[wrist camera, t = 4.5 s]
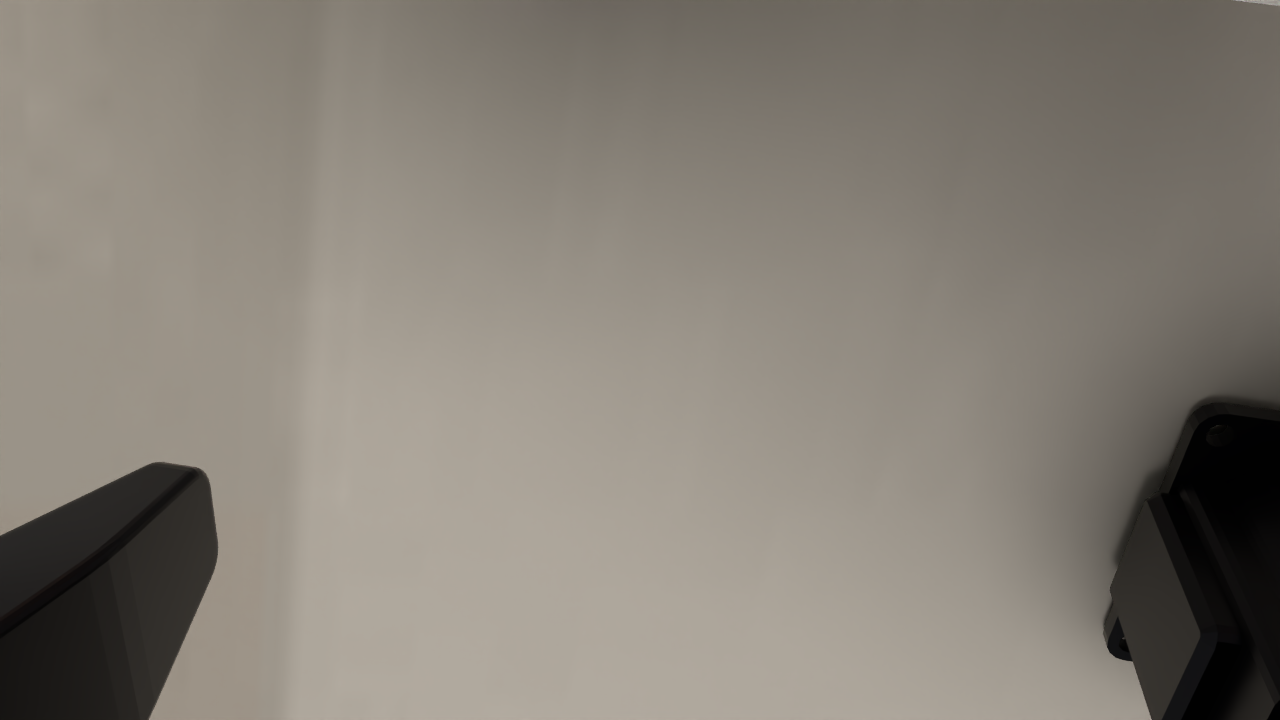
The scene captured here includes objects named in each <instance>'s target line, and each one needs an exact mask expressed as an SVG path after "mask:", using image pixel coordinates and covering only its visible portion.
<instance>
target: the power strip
mask: <svg viewBox="0 0 1280 720" xmlns="http://www.w3.org/2000/svg"><path fill="white" fill-rule="evenodd" d="M1235 1H1243V2H1252V3H1260V4H1268V5H1277V6H1280V0H1235Z"/></svg>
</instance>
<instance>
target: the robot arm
mask: <svg viewBox="0 0 1280 720" xmlns="http://www.w3.org/2000/svg"><path fill="white" fill-rule="evenodd" d="M1217 425H1227V426H1228V427H1227V428H1226V429H1225V430H1224V432H1222V433H1220V434H1217V435H1208V434H1207V433H1208V431H1209V430H1210V429H1211V428H1213V427H1215V426H1217ZM217 556H218V539H217V532H216V524H215V517H214V509H213V502H212V494H211V487H210V482H209V479H208V477H207V475H206V473H205V472H204V471H202V470H201V469H199V468H197V467H191V466H185V465H178V464H172V463H165V462H155V463H151V464H149V465H146V466H144V467H142V468H140V469H138V470H136V471H134V472H132V473H130V474H127V475H125V476H123V477H121V478H119V479H117V480H115V481H113V482H111V483H109V484H107V485H105V486H103V487H100V488H98V489H96V490H94V491H92V492H90V493H88V494H86V495H84V496H82V497H80V498H78V499H76V500H73V501H71V502H69V503H67V504H65V505H63V506H61V507H59V508H57V509H55V510H53V511H51V512H49V513H47V514H44V515H42V516H40V517H38V518H36V519H34V520H32V521H30V522H28V523H26V524H24V525H22V526H20V527H17V528H15V529H13V530H11V531H9V532H7V533H5V534H3V535H1V536H0V720H149V718H150V716H151V714H152V711H153V709H154V707H155V705H156V703H157V700H158V698H159V696H160V694H161V691H162V689H163V687H164V685H165V682H166V680H167V678H168V675H169V673H170V671H171V669H172V666H173V664H174V662H175V659H176V657H177V655H178V653H179V650H180V648H181V646H182V643H183V641H184V639H185V637H186V634H187V632H188V630H189V628H190V625H191V623H192V621H193V618H194V616H195V614H196V612H197V609H198V607H199V605H200V602H201V600H202V598H203V596H204V593H205V591H206V589H207V586H208V584H209V582H210V580H211V577H212V575H213V572H214V569H215V566H216V562H217ZM1110 593H1111V596H1112V599H1113V602H1114V604H1113V606H1112V609H1111V611H1110V613H1109V616H1108V618H1107V621H1106V623H1105V626H1104V631H1103V635H1104V638H1105V641H1106V645H1107V648H1108V650H1109V652H1110V653H1111V654H1112V655H1113V656H1115V657H1116V658H1119V659H1122V660H1126V661H1132V662H1133V663H1134V666H1135V669H1136V673H1137V676H1138V679H1139V682H1140V685H1141V688H1142V691H1143V694H1144V697H1145V700H1146V703H1147V706H1148V709H1149V712H1150V716H1151V719H1152V720H1280V411H1277V410H1270V409H1263V408H1256V407H1249V406H1242V405H1235V404H1228V403H1211V404H1208V405H1205V406H1202V407H1201V408H1199V409H1198V410H1196V411H1195V412H1194V413H1193V414H1192V415H1191V417H1190V418H1189V420H1188V422H1187V424H1186V427H1185V429H1184V432H1183V434H1182V437H1181V439H1180V441H1179V444H1178V446H1177V449H1176V451H1175V454H1174V456H1173V459H1172V461H1171V464H1170V466H1169V468H1168V471H1167V473H1166V476H1165V478H1164V481H1163V483H1162V486H1161V488H1160V491H1159V492H1156V493H1154V494H1153V495H1152V496H1150V497H1149V498H1148V499H1147V500H1145V502H1144V504H1143V507H1142V509H1141V512H1140V514H1139V517H1138V519H1137V522H1136V524H1135V527H1134V529H1133V532H1132V534H1131V537H1130V539H1129V542H1128V544H1127V547H1126V549H1125V551H1124V554H1123V556H1122V559H1121V561H1120V564H1119V566H1118V569H1117V571H1116V574H1115V576H1114V579H1113V581H1112V584H1111V587H1110ZM1123 637H1125V639H1122V638H1123Z"/></svg>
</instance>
